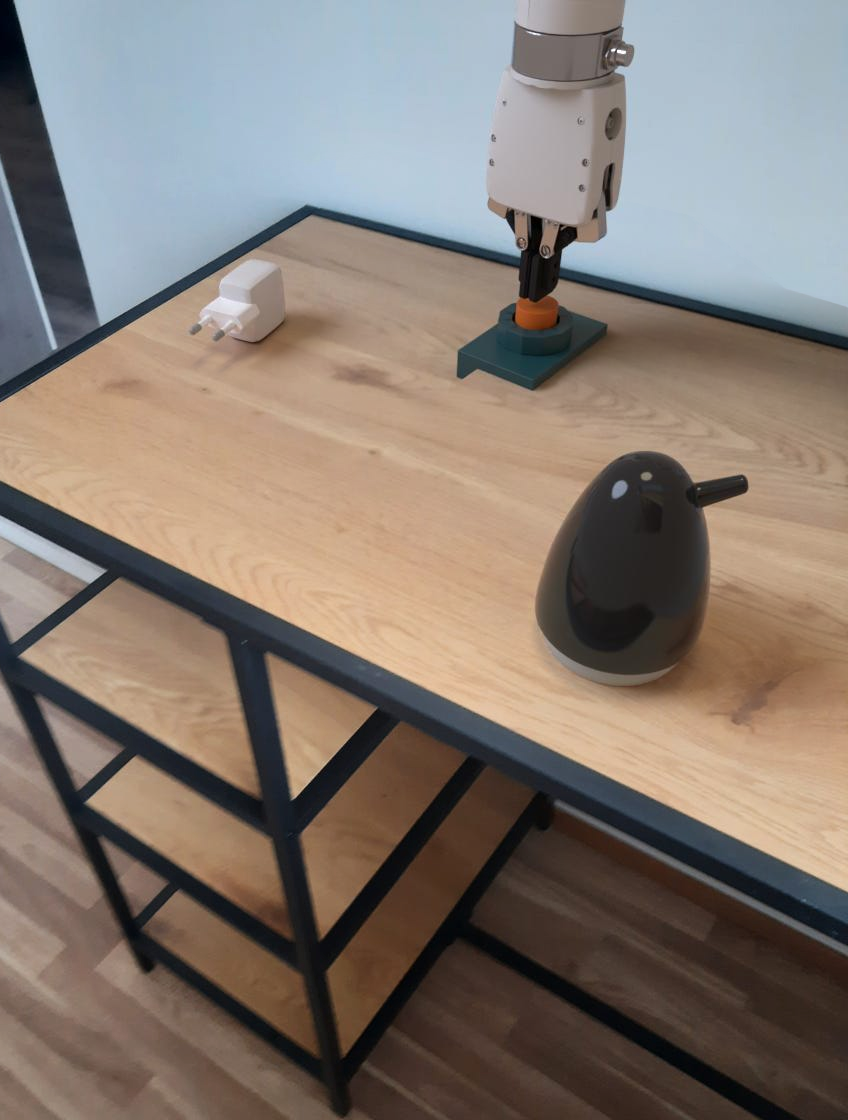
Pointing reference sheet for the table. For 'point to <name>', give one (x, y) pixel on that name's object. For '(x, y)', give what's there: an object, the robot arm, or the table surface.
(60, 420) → the table surface
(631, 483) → the pump dispenser
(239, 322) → the power adapter
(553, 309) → the orange button
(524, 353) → the button housing
